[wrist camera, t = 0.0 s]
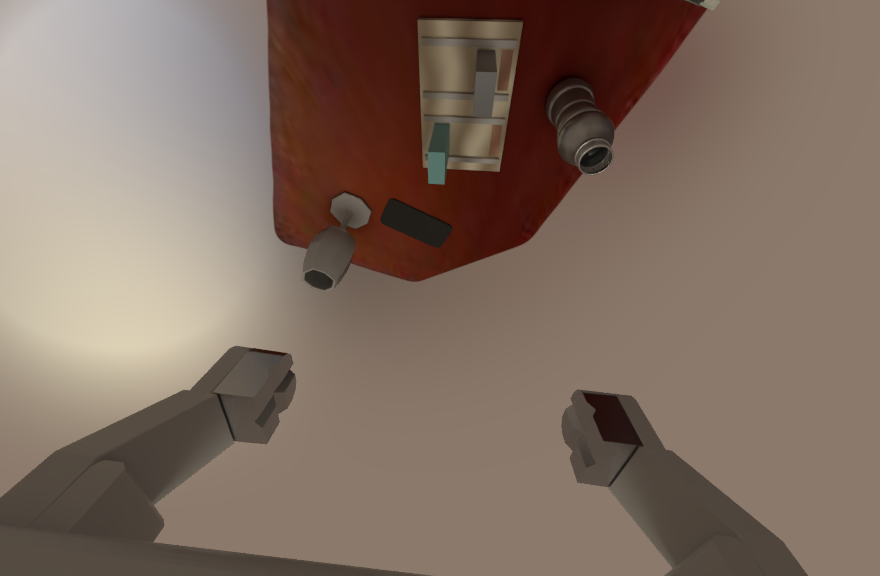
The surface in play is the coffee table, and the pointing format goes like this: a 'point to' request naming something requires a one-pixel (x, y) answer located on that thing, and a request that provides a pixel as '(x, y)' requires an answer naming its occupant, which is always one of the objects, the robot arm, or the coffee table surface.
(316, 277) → the wineglass
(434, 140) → the upright teal brick
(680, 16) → the coffee table surface
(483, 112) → the grey slab
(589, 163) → the plastic bottle
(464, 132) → the divided base tray
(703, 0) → the candy bar box
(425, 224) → the phone
